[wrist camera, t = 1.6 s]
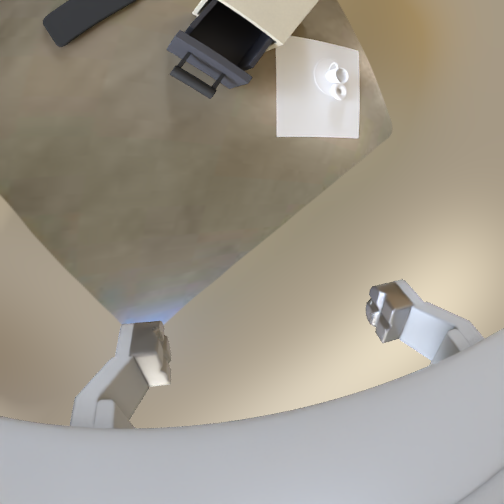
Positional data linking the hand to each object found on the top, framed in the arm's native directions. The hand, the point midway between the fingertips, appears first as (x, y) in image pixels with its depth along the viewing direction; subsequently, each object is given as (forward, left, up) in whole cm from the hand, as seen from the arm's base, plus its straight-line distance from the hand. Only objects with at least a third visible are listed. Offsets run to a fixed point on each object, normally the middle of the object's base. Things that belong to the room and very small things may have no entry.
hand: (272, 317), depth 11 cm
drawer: (-3, +22, -40) cm, 46 cm away
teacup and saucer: (+18, +29, -41) cm, 53 cm away
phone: (-25, +18, -41) cm, 51 cm away
